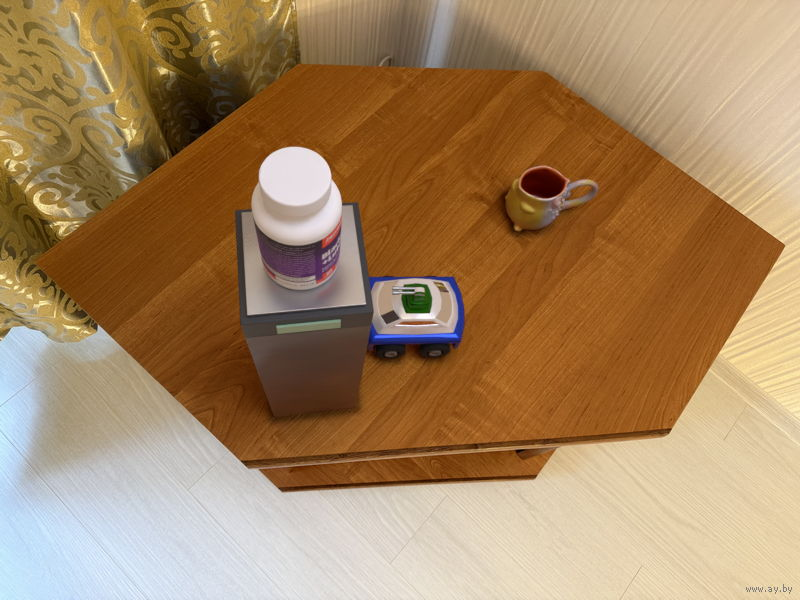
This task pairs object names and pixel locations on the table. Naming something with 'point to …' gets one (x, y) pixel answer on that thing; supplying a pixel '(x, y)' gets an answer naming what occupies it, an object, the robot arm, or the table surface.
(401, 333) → the toy car
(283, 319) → the tall grey box
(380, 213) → the table surface
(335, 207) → the pill bottle
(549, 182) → the mug
